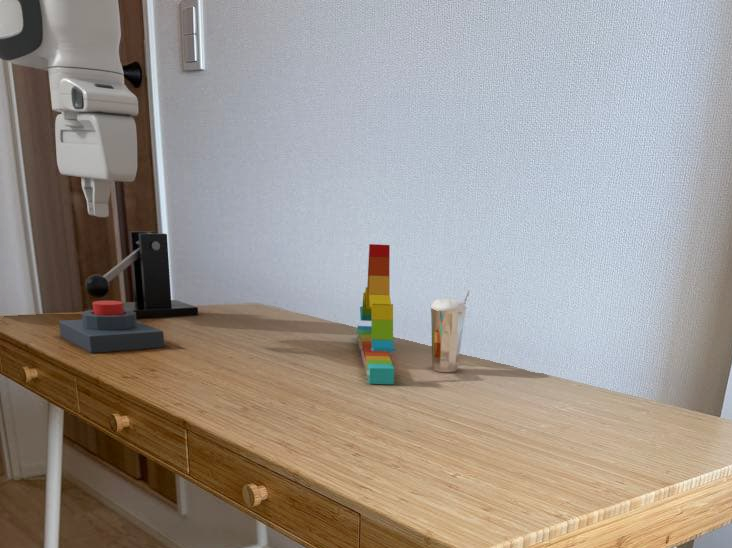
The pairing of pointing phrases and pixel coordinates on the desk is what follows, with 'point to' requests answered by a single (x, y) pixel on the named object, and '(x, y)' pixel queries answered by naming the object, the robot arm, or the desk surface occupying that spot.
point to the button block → (111, 332)
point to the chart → (377, 318)
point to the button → (108, 308)
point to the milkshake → (447, 333)
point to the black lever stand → (153, 279)
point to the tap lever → (109, 275)
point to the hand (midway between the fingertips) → (98, 216)
